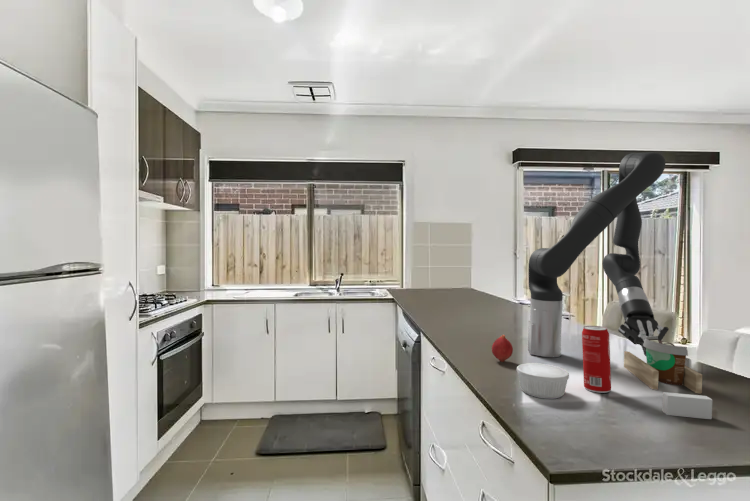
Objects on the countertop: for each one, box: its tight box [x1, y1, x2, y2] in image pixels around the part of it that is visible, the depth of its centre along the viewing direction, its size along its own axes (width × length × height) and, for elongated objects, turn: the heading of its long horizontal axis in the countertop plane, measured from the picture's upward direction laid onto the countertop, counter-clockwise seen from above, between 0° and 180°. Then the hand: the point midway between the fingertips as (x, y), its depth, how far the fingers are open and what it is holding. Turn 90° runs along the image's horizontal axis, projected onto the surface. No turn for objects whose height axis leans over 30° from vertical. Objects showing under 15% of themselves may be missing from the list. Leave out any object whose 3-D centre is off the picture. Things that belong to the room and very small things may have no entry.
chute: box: [623, 350, 703, 395], centre depth 106 cm, size 10×18×4 cm, turn 168°
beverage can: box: [581, 325, 612, 394], centre depth 97 cm, size 6×6×15 cm
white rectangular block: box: [661, 391, 713, 420], centre depth 84 cm, size 8×2×4 cm, turn 78°
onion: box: [491, 334, 514, 363], centre depth 118 cm, size 6×6×8 cm
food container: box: [643, 335, 689, 386], centre depth 106 cm, size 12×6×10 cm, turn 177°
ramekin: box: [516, 362, 570, 400], centre depth 95 cm, size 11×11×5 cm
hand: (652, 357), depth 111 cm, fingers closed
